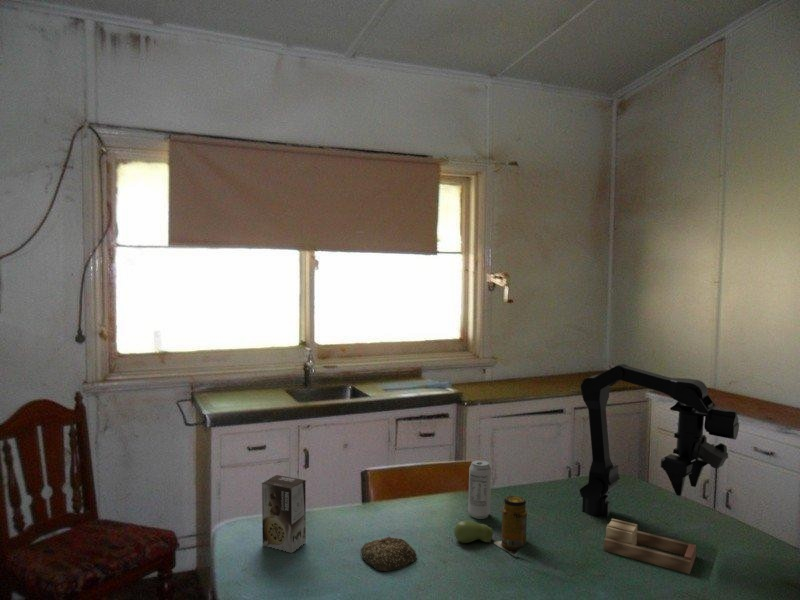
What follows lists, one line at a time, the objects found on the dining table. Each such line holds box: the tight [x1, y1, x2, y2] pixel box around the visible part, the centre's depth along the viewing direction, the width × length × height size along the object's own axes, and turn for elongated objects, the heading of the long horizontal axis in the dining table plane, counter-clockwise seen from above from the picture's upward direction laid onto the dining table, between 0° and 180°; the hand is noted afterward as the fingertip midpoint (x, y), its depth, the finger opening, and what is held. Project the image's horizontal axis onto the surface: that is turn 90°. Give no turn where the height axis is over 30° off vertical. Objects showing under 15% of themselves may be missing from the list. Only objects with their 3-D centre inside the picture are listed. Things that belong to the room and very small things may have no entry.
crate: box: [605, 518, 638, 546], centre depth 146 cm, size 6×6×5 cm
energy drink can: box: [467, 459, 492, 520], centre depth 166 cm, size 6×6×15 cm
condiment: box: [493, 495, 528, 558], centre depth 147 cm, size 7×8×12 cm
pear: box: [453, 519, 494, 544], centre depth 151 cm, size 6×5×10 cm
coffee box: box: [261, 474, 307, 554], centre depth 147 cm, size 9×6×16 cm
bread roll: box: [360, 536, 417, 572], centre depth 142 cm, size 13×12×5 cm
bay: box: [602, 530, 697, 575], centre depth 143 cm, size 19×13×4 cm
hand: (686, 490), depth 150 cm, fingers open, 9 cm apart
